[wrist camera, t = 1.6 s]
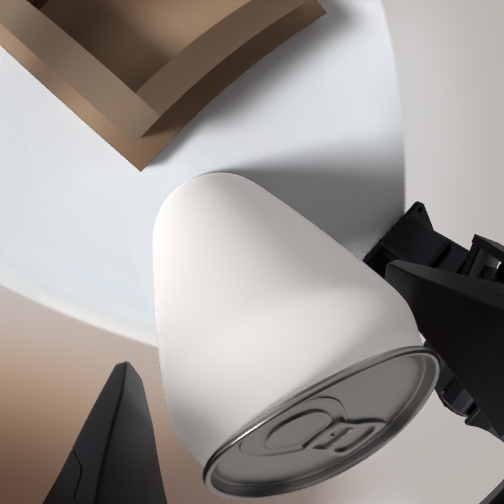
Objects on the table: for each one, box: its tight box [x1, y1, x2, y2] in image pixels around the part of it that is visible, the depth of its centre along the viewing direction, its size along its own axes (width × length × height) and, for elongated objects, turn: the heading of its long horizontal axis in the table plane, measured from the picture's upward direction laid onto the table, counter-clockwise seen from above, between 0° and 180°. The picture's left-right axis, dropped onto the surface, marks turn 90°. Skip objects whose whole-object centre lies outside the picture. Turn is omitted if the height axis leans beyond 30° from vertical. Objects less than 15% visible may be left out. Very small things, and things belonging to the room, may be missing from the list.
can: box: [153, 173, 441, 500], centre depth 10 cm, size 6×6×12 cm
